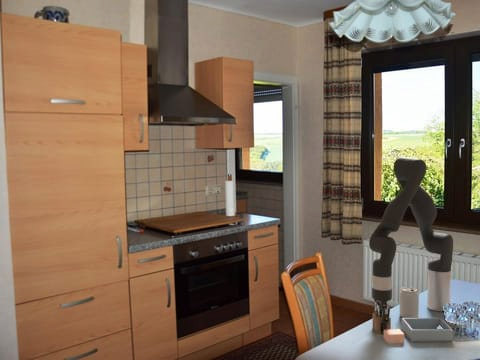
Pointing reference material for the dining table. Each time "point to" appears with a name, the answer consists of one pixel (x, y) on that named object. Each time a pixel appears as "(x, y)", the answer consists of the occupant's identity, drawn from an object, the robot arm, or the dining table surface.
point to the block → (379, 323)
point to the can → (409, 302)
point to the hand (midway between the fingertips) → (381, 328)
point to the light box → (394, 336)
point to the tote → (427, 330)
